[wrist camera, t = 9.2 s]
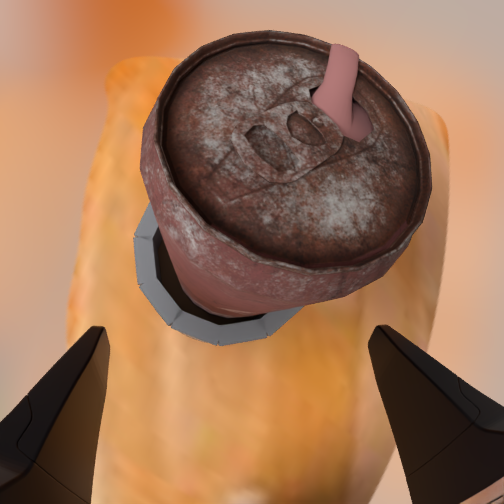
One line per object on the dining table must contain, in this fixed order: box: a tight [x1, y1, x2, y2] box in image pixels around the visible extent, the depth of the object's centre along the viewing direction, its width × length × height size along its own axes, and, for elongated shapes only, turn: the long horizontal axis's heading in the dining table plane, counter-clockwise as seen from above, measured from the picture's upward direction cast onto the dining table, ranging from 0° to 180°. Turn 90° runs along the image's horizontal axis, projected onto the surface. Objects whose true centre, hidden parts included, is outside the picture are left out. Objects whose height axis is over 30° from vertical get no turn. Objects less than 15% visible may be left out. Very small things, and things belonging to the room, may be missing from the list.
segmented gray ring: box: [133, 203, 304, 346], centre depth 18 cm, size 10×10×4 cm
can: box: [140, 30, 432, 319], centre depth 12 cm, size 6×6×14 cm
